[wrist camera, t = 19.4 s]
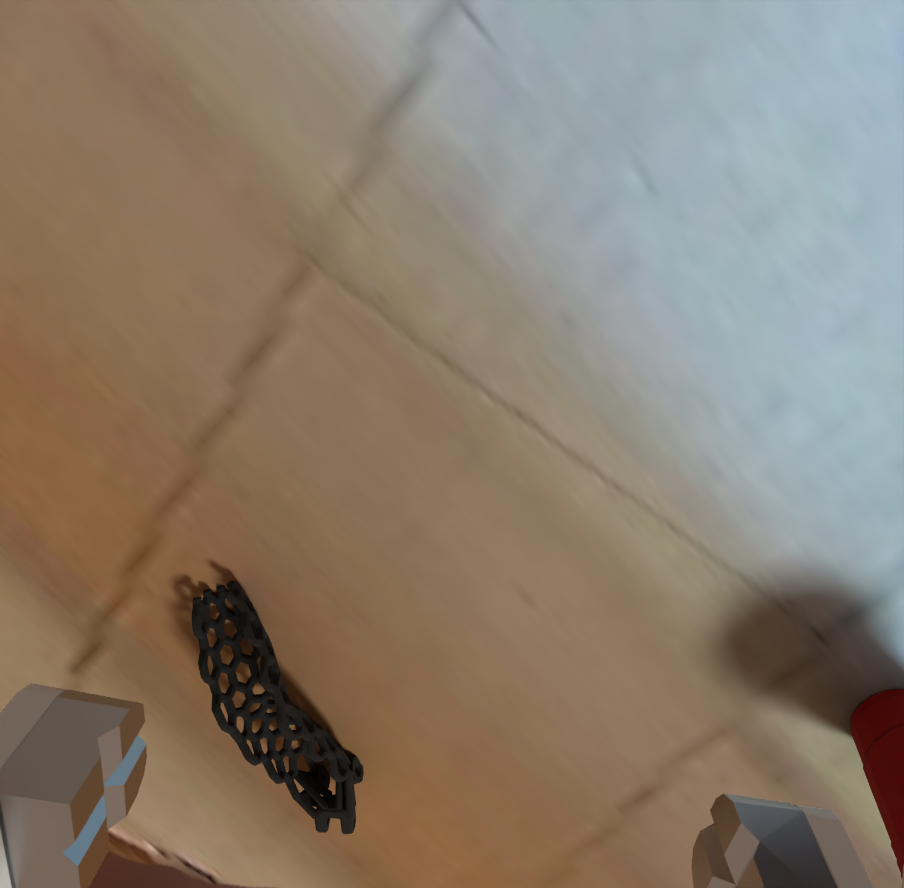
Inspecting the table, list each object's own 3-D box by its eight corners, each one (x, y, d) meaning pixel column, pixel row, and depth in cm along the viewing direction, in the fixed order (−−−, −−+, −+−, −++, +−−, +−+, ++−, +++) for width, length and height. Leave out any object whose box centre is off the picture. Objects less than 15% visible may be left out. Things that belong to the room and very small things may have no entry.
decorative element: (189, 587, 48) (151, 645, 43) (251, 568, 47) (220, 625, 42) (329, 795, 56) (311, 865, 51) (384, 783, 55) (372, 853, 50)
